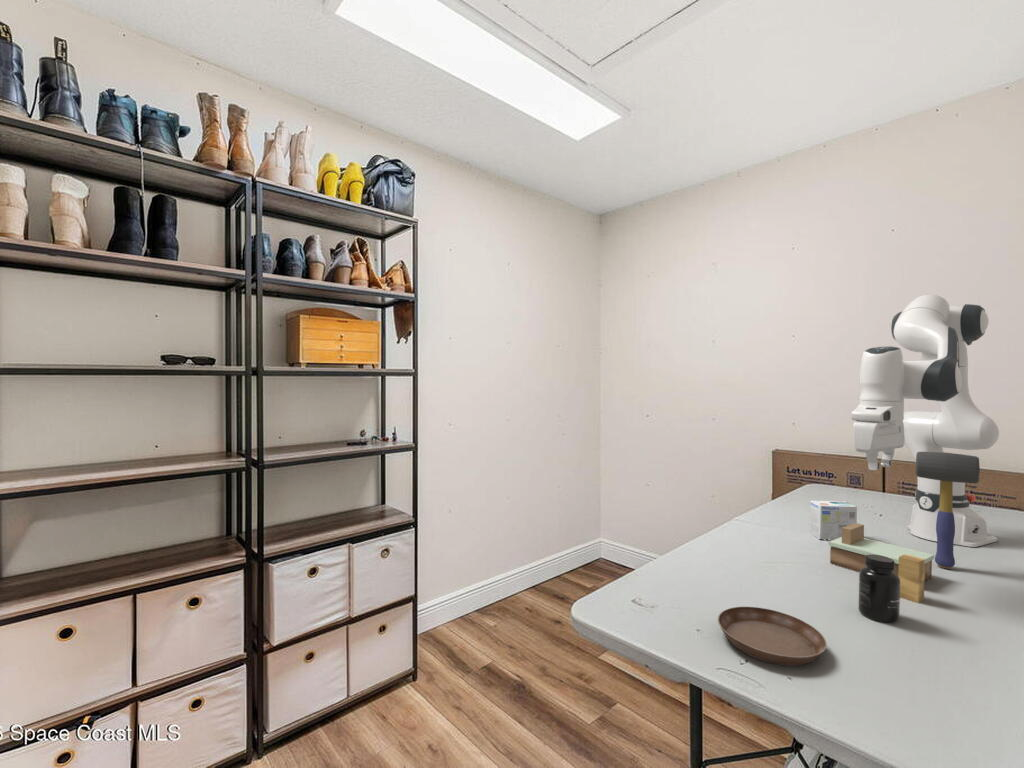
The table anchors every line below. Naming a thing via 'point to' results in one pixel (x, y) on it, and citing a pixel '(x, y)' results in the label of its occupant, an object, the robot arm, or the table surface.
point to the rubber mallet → (946, 493)
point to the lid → (872, 545)
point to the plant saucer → (772, 635)
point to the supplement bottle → (879, 589)
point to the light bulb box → (831, 518)
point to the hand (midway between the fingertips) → (880, 468)
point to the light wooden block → (911, 577)
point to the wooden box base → (863, 561)
